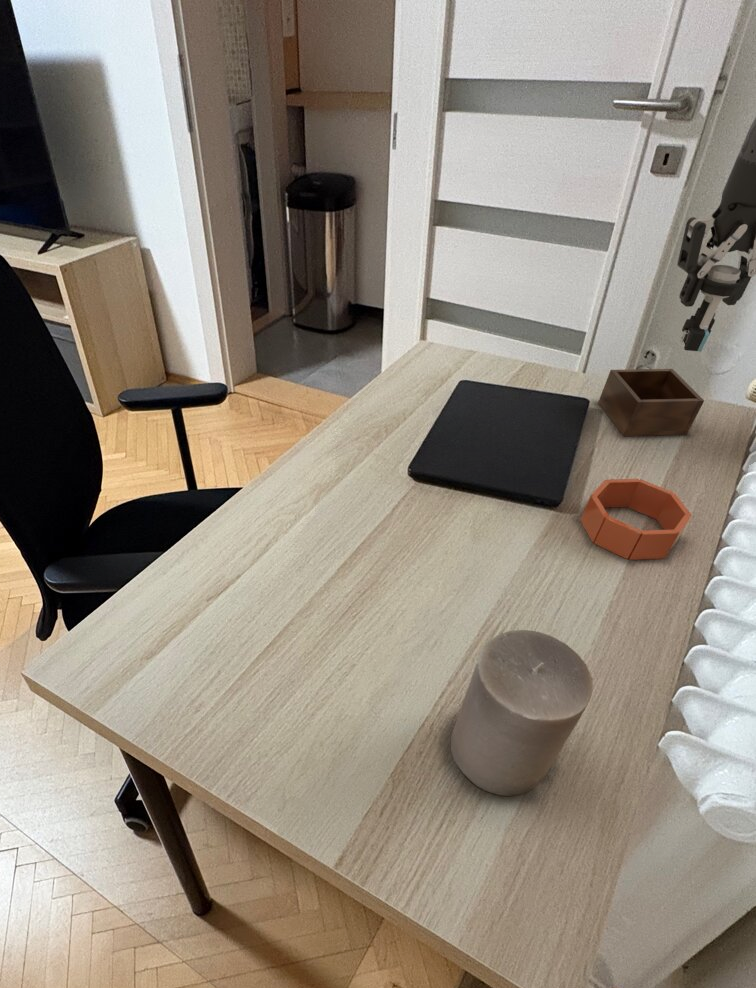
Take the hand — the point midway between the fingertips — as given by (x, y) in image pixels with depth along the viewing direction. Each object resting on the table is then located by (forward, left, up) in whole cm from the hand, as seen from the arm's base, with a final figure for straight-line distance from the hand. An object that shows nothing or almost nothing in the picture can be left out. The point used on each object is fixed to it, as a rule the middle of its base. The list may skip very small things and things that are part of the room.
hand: (707, 303), depth 85 cm
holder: (-4, -9, -23) cm, 25 cm away
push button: (0, 0, -6) cm, 6 cm away
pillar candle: (+39, +54, -23) cm, 70 cm away
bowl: (+11, +20, -23) cm, 33 cm away
